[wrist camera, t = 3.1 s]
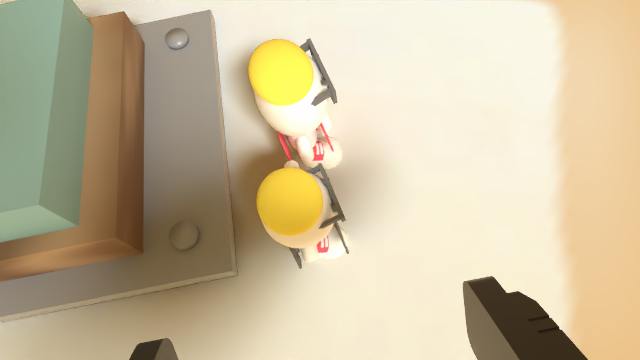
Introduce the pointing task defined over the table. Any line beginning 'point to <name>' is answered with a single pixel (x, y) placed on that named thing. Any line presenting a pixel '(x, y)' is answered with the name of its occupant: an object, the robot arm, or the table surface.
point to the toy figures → (302, 131)
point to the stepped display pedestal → (108, 157)
